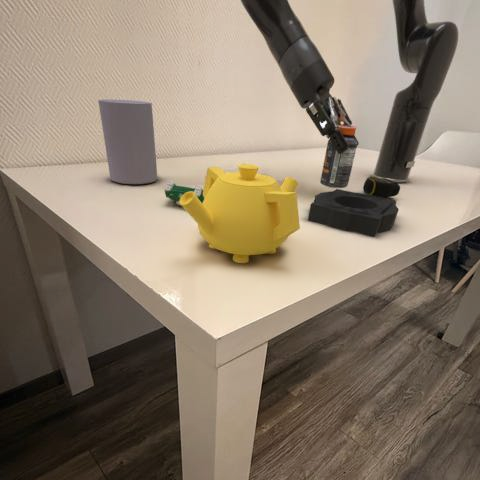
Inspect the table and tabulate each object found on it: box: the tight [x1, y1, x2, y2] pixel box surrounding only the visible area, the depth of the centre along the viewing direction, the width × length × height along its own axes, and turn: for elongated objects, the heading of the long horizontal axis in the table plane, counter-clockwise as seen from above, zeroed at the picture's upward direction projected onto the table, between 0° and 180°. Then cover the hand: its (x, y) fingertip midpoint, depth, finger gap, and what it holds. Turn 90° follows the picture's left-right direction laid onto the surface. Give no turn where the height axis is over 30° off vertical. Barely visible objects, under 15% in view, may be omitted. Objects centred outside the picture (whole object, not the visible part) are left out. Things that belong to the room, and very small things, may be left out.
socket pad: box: [307, 188, 400, 238], centre depth 62 cm, size 15×15×3 cm
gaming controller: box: [164, 179, 204, 206], centre depth 62 cm, size 9×4×6 cm
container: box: [97, 98, 158, 186], centre depth 71 cm, size 10×10×15 cm
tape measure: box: [362, 176, 401, 199], centre depth 76 cm, size 7×7×4 cm
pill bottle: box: [319, 124, 358, 189], centre depth 69 cm, size 6×6×11 cm
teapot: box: [179, 163, 301, 264], centre depth 45 cm, size 20×18×11 cm
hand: (349, 149), depth 67 cm, fingers closed on pill bottle, 6 cm apart
